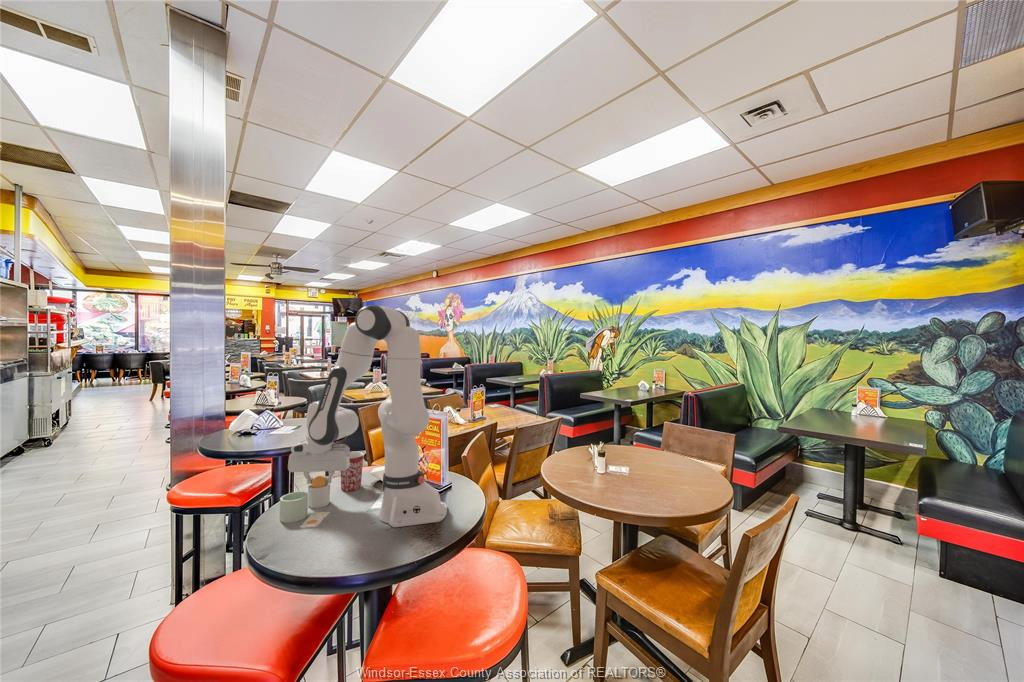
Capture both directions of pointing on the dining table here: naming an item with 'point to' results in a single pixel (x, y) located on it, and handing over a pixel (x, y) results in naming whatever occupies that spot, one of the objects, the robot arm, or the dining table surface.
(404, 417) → the robot arm
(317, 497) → the tube grey
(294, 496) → the tube green
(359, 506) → the dining table surface
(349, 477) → the mug
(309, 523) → the card
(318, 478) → the ball orange
